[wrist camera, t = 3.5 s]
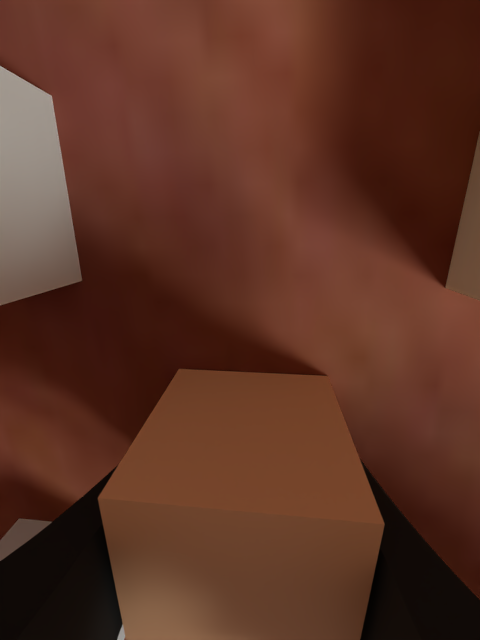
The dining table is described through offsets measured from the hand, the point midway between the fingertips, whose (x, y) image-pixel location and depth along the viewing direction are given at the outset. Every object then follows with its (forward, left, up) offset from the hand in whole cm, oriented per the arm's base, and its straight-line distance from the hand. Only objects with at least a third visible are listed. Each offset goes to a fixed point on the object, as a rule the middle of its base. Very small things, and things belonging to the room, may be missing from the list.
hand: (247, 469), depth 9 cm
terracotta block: (0, 0, -2) cm, 2 cm away
